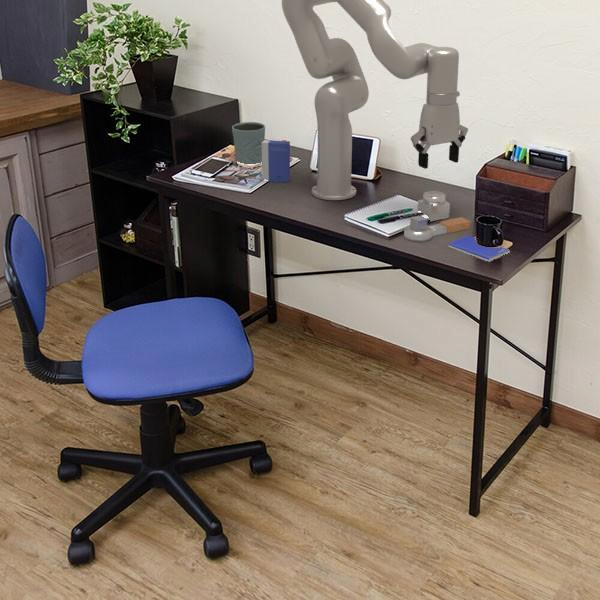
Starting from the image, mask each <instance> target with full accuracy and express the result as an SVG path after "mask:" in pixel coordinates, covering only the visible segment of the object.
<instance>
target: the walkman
mask: <svg viewBox="0 0 600 600" xmlns="http://www.w3.org/2000/svg"><path fill="white" fill-rule="evenodd" d="M261 172H262V175H261V177H262V179H266V180H268V181H267V182H269V183H270V182H273V183H289V182H290V181H291V141H289V140H288V141H287V140H286V139H282V140H274V139H273V140H272V139H271V140H270V139H269V140H268V139H264V141H263V142H262V166H261ZM262 179H261V180H262Z"/></svg>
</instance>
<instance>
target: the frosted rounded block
mask: <svg viewBox="0 0 600 600" xmlns="http://www.w3.org/2000/svg"><path fill="white" fill-rule="evenodd" d="M422 194H423V196H422V199H418V200H417V210H418V211H421V212H422V213H423V214H425V215H427V216H428V217H429V218H430V219H429V220H430V221H429V220H428V221H429V222H434V221H439V220H443V219H444V220H446V219H448V218H450V210H451V209H450V207H451V202H449V201H446V193H444V192H442V191H438V190H437V191H436V190H428V191H425V192H423V193H422ZM417 210H416V211H417Z"/></svg>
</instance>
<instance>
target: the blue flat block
mask: <svg viewBox="0 0 600 600" xmlns="http://www.w3.org/2000/svg"><path fill="white" fill-rule="evenodd" d="M476 238H477V237H474V236H472V235H467V236H464V237H462V238H459V239H457V240H454V241H451V242H450V243H448V248H451V249H454V250H455V251H459V252H461V253H464V254H466V255H468V256H471V255H472V256H471V257H474V256H475V258H477V259H480V260H483V261H486V262H487V261H488V262H487V263H490V262H492V261H494V259H495V260H497V259H499V258H501V256H502V257H504V256H506V255H508V253H509V254H510V253H511V250H510V249H509V248H507V247H503V246H500V248H490V247H485V246H481V245H479V244H477V243H476V240H475V239H476ZM505 254H506V255H505ZM503 255H504V256H503Z"/></svg>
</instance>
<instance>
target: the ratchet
mask: <svg viewBox="0 0 600 600" xmlns="http://www.w3.org/2000/svg"><path fill="white" fill-rule="evenodd" d="M470 228H471V221H470V220H468V219H466V217H465V218H464V217H463V216H459V217H455V218H450V219H444V220H442V221H439V223H437V224H433V225H428V220H427V219H426V218H424V217H422V216H419V215H417V216H411V217H410V221H409V225H407V226H405V227H404V228H403V229H404V230H403V238H404V239H405V240H406V241H410V242H413V243H414V242H415V243H425V242H429V241H431V240H432V239H433V237H435V236H441V235H444V234H451V233H456V232H460V231H465V230H470Z"/></svg>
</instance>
